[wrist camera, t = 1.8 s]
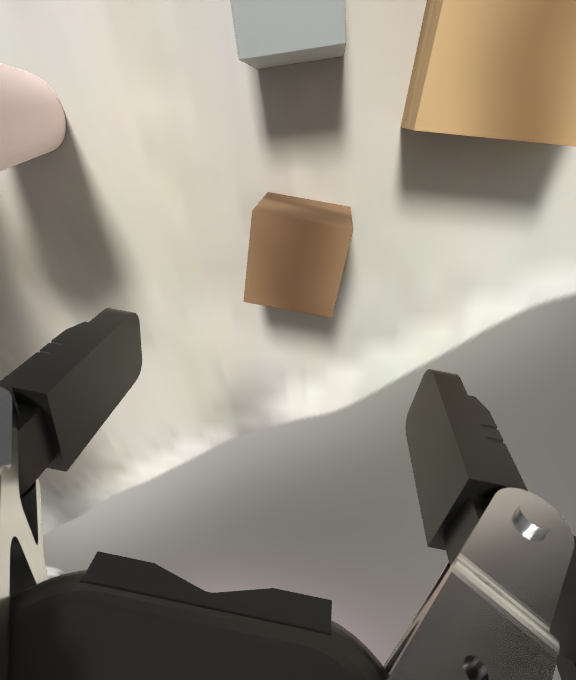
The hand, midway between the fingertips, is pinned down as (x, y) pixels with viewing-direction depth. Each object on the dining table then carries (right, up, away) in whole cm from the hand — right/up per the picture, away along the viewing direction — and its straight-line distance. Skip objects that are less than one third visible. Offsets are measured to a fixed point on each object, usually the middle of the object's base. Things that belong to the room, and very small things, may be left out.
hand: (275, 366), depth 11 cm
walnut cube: (+1, +6, +11) cm, 13 cm away
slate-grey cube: (+1, +15, +6) cm, 16 cm away
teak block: (+10, +14, +6) cm, 18 cm away
